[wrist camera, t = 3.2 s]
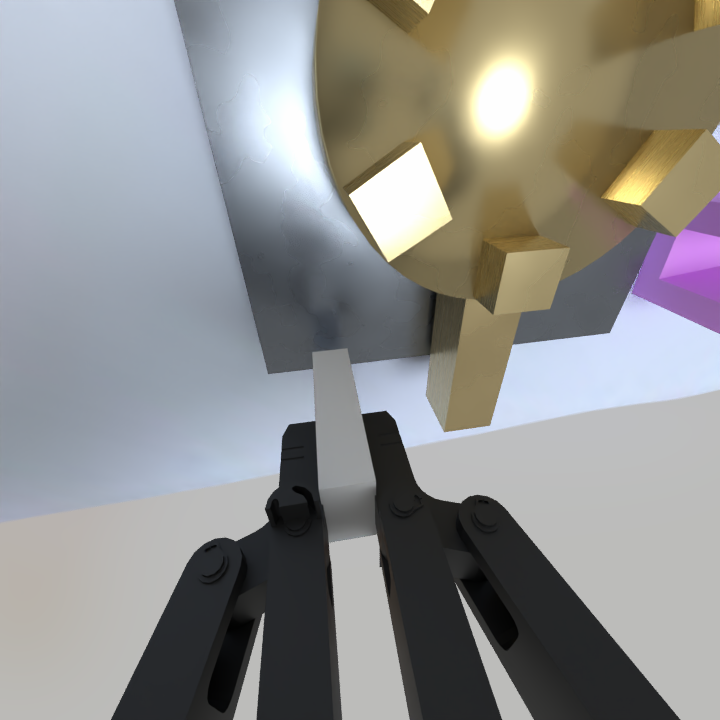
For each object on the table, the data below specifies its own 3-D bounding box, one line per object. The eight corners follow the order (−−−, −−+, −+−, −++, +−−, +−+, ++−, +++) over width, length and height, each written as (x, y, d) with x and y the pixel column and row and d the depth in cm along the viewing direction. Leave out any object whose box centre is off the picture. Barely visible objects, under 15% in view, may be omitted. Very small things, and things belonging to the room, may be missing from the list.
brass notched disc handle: (279, -254, 7) (255, -711, 3) (760, -214, 8) (1142, -505, 4) (341, 405, 18) (352, 474, 14) (542, 378, 19) (600, 435, 15)
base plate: (271, 347, 18) (268, 374, 16) (59, -572, 6) (-61, -933, 4) (628, 307, 21) (665, 326, 18) (976, -411, 9) (1193, -588, 6)
